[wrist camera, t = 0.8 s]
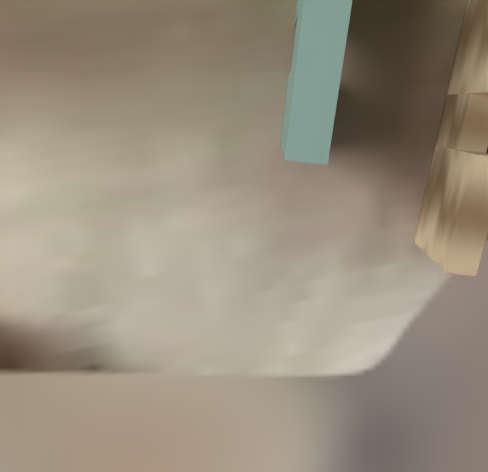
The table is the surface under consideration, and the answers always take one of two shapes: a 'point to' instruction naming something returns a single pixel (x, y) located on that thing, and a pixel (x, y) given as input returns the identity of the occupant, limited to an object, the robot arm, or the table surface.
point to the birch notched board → (461, 158)
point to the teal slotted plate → (314, 79)
